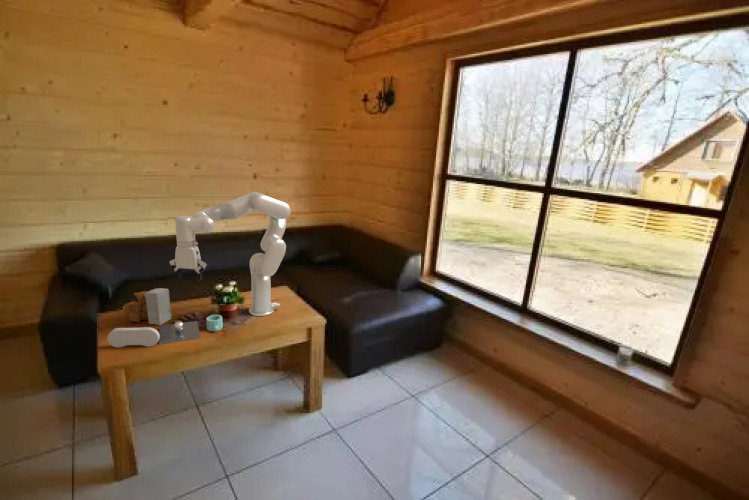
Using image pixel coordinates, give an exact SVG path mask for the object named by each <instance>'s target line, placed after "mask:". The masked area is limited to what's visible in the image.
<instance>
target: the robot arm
mask: <svg viewBox="0 0 749 500" xmlns="http://www.w3.org/2000/svg"><path fill="white" fill-rule="evenodd" d="M254 211H256V212H259V213H262V214H264V215H267V216H268V217H269V223H268V226H267V228H266V230H265V233H264V235H263V237H262V238H261V241H260V249H261V250H262V251H264V252H265V253H262V252H257V253H254V254H253V255H252V256H251V257H250V260H249V270H250V271H249V272H250V277H251V307H249V309H248V313H249V314H250V315H252V316H255V317H264V316H265V317H266V316H269V315H272V313H274V311H275V309H274V308H280V306H281V304H280V303H279V302H278V303H277V302H275V301H274V302H272V299H271V298H272V297H271V296H272V295H271V293H272V292H271V282H272V281H271V277H272V276H274V275H275V274H276V273H277V271H278V269H279V267H280V266H281V262H282V261H283V259H284V257H285V255H286V253H287V252H286V251H287V245H286V242H285V241H284V239H283V236H284V234H285V232H286V231H285V230H286V227H287V218H288V217H289V216H290V215H291V206H290V205H289V204H288V203H287V202H285V201H281V200H279V199H276V198H273V197H271V196H268V195H266V194H264V193H262V192H261V193H260V192H257V191H252V192H249V193H246V194H244V195H242V196H240V197H236V198H235V199H233V200H230V201H227V202H224V203H220V204H217V205H213V206H210V207H208V208H205V209H202V210H200V211H198V212H196V213H194V214H193V215H192V216H191V215H179V216H176V218H175V219H174V222H175V233H176V234H175V235H176V237H175V238H176V245H177V246H175V254H174V259H171V260H169V264H170V266H171V268H172V269H173V271H174V272H175V277H176V281H179V280H180V279H182V278H183V273H182V269H187V270H188V269H189V270H195V272H196V274H195V275H196V277H195V278H196V282H200V281H202V280H203V272H204V271H205V269H206V267H207V266H208V264H207V263H206V262H205V261H203V260H201V259H202V258H201V253H200V249H199V246H198V245H199V242H198V241H197V240H196V233H204V234H205V233H209V232H211V231H213V230H214V228H215V223H216V222H219V221H222V220H223V221H224V220H235V219H239V218H242V217H243V216H246V215H248V214H251V213H252V212H254Z"/></svg>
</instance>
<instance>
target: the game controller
mask: <svg viewBox="0 0 749 500" xmlns="http://www.w3.org/2000/svg"><path fill="white" fill-rule="evenodd" d="M106 338H107V342H108V344H109V345H111V346H112V347H114V348H124V347H126V346H144V347H154V346H156V345H157V344H158V343H159V339H160V334H159V331H158V330H157V329H156V328H153V327H150V326H149V327H148V326H147V327H146V326H145V327H116V328H113V330H111V331H110V332H108V335H107V337H106Z"/></svg>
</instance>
